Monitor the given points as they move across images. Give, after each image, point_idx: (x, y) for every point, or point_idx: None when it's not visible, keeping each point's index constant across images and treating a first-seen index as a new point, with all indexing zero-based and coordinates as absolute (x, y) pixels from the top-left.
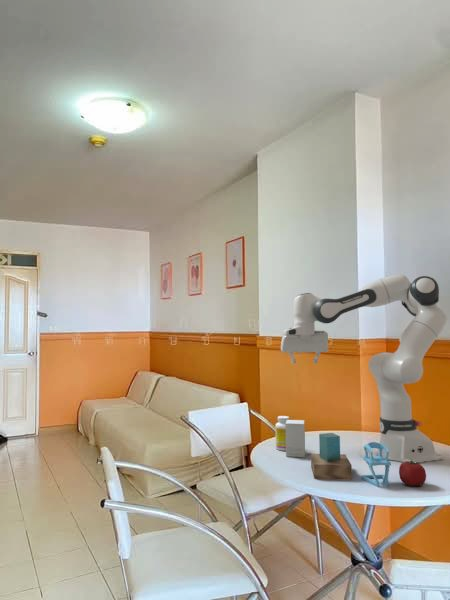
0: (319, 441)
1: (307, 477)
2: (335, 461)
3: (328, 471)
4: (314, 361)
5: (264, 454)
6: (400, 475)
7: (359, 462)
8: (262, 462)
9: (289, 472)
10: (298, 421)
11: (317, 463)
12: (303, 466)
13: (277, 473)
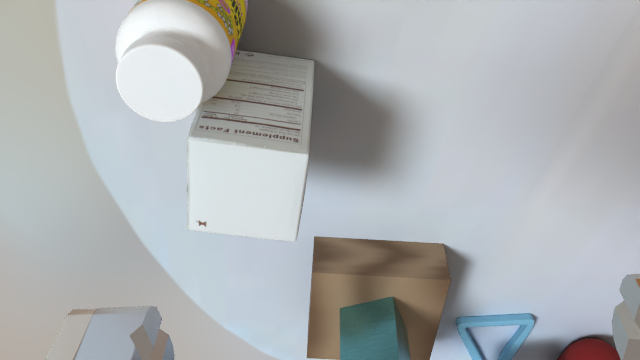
0: (340, 358)
1: (288, 313)
2: None
3: None
4: (625, 355)
5: (109, 94)
6: None
7: (525, 193)
8: (120, 194)
9: (231, 280)
10: (266, 193)
11: (320, 351)
12: None
13: (191, 287)
